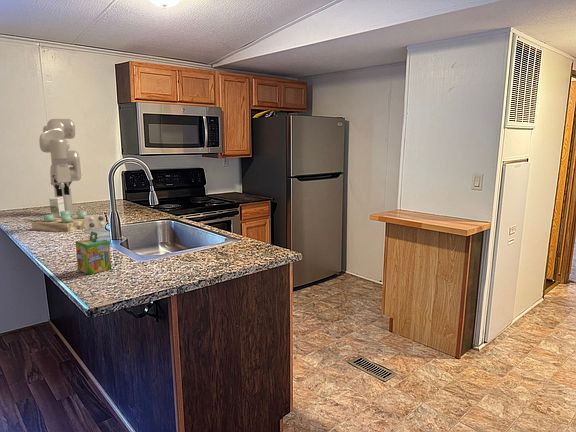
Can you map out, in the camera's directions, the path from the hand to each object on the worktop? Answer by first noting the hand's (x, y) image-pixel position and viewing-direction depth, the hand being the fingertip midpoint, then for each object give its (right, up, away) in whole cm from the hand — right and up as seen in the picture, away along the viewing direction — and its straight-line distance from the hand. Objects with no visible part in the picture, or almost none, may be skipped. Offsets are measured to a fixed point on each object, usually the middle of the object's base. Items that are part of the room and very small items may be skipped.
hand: (63, 194), depth 224 cm
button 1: (-11, -15, +6) cm, 20 cm away
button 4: (+3, -13, +14) cm, 20 cm away
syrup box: (-19, -14, +29) cm, 38 cm away
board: (-4, -18, +11) cm, 21 cm away
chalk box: (+50, -33, -68) cm, 91 cm away
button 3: (0, -16, +3) cm, 16 cm away
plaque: (+15, -18, +7) cm, 25 cm away
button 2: (-8, -13, +17) cm, 23 cm away
